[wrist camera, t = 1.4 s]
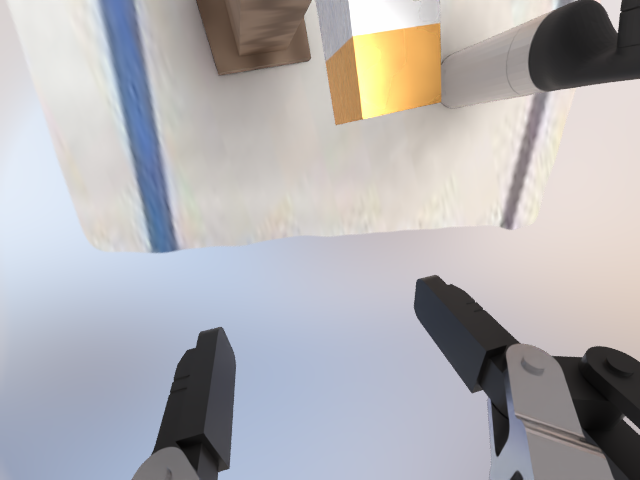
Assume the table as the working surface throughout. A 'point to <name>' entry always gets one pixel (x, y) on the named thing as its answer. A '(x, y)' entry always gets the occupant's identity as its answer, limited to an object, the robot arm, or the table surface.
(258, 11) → the tall stand
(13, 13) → the table surface
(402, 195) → the table surface
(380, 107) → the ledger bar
